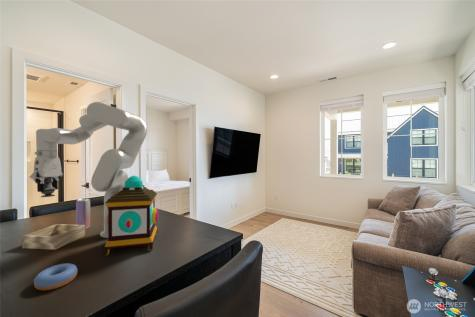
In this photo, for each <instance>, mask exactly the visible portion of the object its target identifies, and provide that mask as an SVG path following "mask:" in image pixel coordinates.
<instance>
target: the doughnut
mask: <svg viewBox="0 0 475 317" xmlns="http://www.w3.org/2000/svg"><path fill="white" fill-rule="evenodd" d="M77 275H78V267H77V265H76V264H75V263H74V264H73V263H68V262H67V263H60V264H55V265H52V266H49V267H47V268H45V269H43V270H41V271H40V272H39V273H37V275H36V276H35V278H34V279H33V286H34V288H35V289H36V290H37V291H50V290H51V291H52V290H56V289H59V288H61V287H63V286H66V285H68V284H69V283H71V282H72V281H73V280H74V279H75V278H76V277H77Z"/></svg>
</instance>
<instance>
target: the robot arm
mask: <svg viewBox="0 0 475 317" xmlns="http://www.w3.org/2000/svg"><path fill="white" fill-rule="evenodd" d="M85 111H86V114H83V115H81V116H80V117H79V119H78V121H79V125H80V126H79V127H77V128H75V129H68V128H59V127H51V128H38V129H37V130H36V131H35V138H36V139H35V140H36V141H35V143H36V145H35V147H36V148H35V149H36V151H35V152H34V155H36V156H35V158H34V162H33V172H32V173H31V175H30V176H29V178H30V179H31V180H32V181H34V182H35V184H36V185H37V186H36V189H37V192H38V193H41V192H44V191H45V184H44V179H45V177H52V187H53V188H56V189H55V191H56V190H58V189H59V182H60V179H61V178H62V177H63V176H64V173H63V172H62V171H63V170H62V165H61V159H60V156H58V145H78V144H80V143H82V142H84V141H87V140H88V139H90V138H91V137H92V136H93V134H94V132H96V131H98V130H100V129H103V128H104V127H106V126H110V127H114V128H116V129H121V130H124V131H128V132H127V133H126V135H125V136H124V137H123V139H122V141H121V143H120V145H119V147H118V148H111V149H108V150H106V151H104V152H103V154H102V155H101V157H100V158H99V160H98V163H97V165H96V167H95V170H94V172H93V174H92V176H91V179H90V180H91V182H90V184H91V187H92V188H93V189H94V190H95V191H96V192H99V193H103V192H105V193H104V196H103V230H101V232H100V233H99V236H100V237H101V238H103V239H108V223H107V216H108V207H107V206H106V204H105V202H106V201H107V200H108V199H109V198H111V196H113V195H115V194H116V193H118V192H120V191H121V190H123V188H124V187H125V181H126V180H127V179H128V178H129V175H128V173H127V172H126V171H124V170H125V169H130V168H131V167H132V166H133V164H134V163H135V161H136V159H137V157H138V154H139V153H140V150H141V148H142V145H143V143H144V141H145V139H146V136H147V133H148V126H147V125H146V122H145V120H143V119H142V118H141V117H140V116H139V115H137V114H135V113H132V112H130V111H127V110H124V109H121V108H118V107H115V106H112V105H108V104H106V103H103V102H100V101H94V102H93V101H92V102H91V103H89V104H88V105H87V107H86V109H85Z"/></svg>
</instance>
